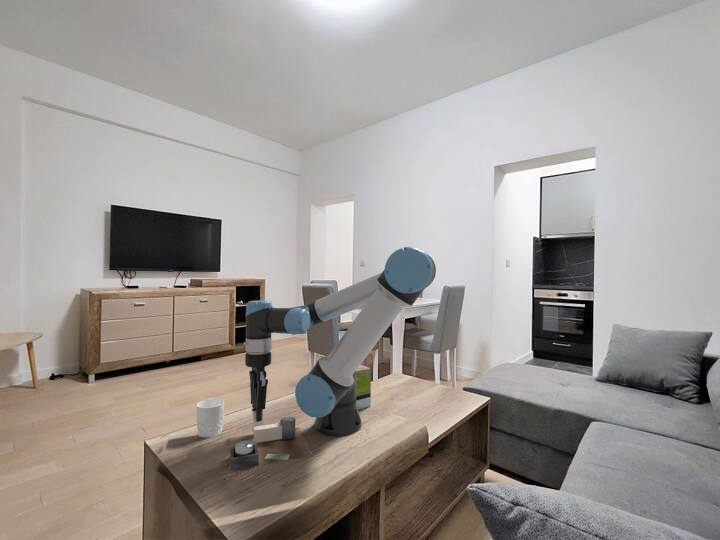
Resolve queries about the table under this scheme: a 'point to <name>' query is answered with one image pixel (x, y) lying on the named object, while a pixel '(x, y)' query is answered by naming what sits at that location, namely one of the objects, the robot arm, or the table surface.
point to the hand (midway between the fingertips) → (257, 430)
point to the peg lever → (275, 430)
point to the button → (243, 448)
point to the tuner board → (269, 451)
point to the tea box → (363, 387)
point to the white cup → (210, 417)
